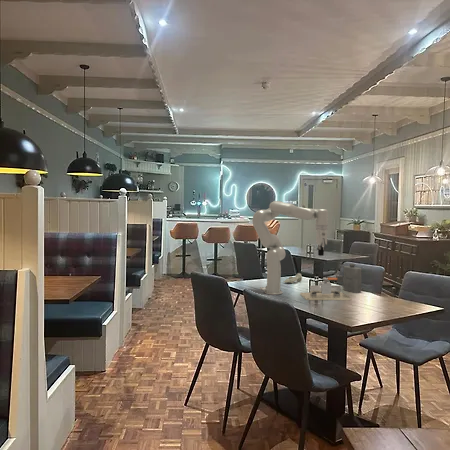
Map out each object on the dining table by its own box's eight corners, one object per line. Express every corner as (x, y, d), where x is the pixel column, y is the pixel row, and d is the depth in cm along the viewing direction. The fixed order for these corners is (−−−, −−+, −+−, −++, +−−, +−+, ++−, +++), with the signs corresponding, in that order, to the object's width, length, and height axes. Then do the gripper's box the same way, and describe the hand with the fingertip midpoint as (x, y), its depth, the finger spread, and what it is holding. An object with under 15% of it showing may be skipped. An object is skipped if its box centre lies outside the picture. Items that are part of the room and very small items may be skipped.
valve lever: (323, 282, 287) (324, 276, 287) (322, 281, 290) (322, 275, 290) (343, 282, 289) (343, 276, 289) (341, 281, 292) (341, 275, 292)
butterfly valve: (290, 284, 333) (305, 280, 343) (283, 259, 336) (298, 256, 346) (283, 286, 339) (297, 281, 350) (276, 261, 342) (291, 258, 353)
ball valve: (305, 299, 281) (306, 282, 280) (300, 294, 297) (300, 278, 296) (350, 300, 282) (351, 282, 282) (342, 294, 298) (343, 278, 298)
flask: (340, 289, 317) (341, 262, 316) (346, 288, 320) (347, 262, 319) (356, 293, 304) (357, 265, 303) (362, 292, 307) (363, 264, 306)
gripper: (330, 228, 275) (329, 256, 276) (323, 227, 290) (323, 254, 290) (319, 228, 274) (318, 256, 275) (313, 227, 289) (312, 254, 290)
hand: (320, 255), depth 283 cm, fingers closed
